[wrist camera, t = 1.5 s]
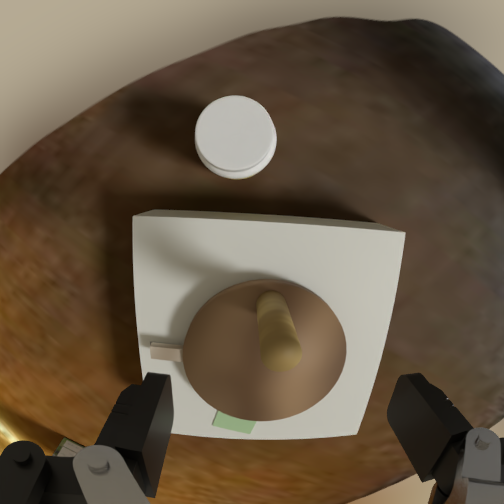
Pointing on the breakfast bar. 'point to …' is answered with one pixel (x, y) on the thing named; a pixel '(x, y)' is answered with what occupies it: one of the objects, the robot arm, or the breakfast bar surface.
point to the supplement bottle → (235, 137)
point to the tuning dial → (261, 350)
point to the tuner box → (265, 267)
